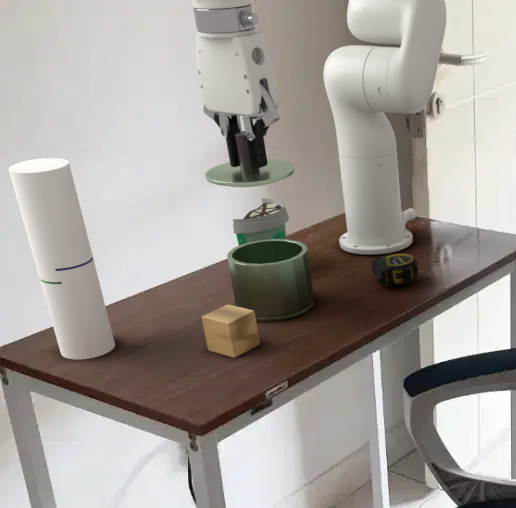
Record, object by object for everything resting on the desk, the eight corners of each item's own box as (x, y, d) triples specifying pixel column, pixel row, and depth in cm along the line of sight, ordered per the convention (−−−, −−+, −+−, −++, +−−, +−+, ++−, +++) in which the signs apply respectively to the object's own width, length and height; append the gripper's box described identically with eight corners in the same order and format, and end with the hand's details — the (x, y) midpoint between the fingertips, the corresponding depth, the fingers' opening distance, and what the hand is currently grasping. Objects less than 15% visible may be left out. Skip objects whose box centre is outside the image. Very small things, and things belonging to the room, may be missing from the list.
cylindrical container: (114, 355, 137) (67, 169, 124) (59, 362, 136) (5, 175, 122) (115, 335, 143) (70, 155, 130) (62, 342, 141) (11, 161, 128)
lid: (249, 162, 147) (242, 119, 144) (313, 172, 142) (307, 127, 138) (188, 184, 139) (178, 138, 135) (253, 195, 133) (246, 148, 130)
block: (233, 337, 141) (227, 304, 139) (260, 344, 139) (254, 310, 136) (207, 350, 138) (201, 316, 135) (234, 357, 135) (228, 323, 133)
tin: (273, 287, 157) (265, 234, 153) (329, 300, 152) (323, 245, 147) (221, 312, 149) (210, 257, 144) (278, 327, 144) (269, 270, 139)
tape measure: (371, 278, 160) (369, 255, 158) (413, 272, 161) (411, 249, 159) (380, 292, 154) (378, 269, 152) (423, 286, 156) (421, 263, 154)
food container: (278, 284, 158) (269, 221, 153) (242, 282, 160) (231, 220, 154) (306, 257, 169) (298, 198, 163) (272, 256, 170) (263, 197, 164)
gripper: (292, 20, 128) (312, 166, 138) (201, 14, 136) (225, 153, 146) (252, 28, 123) (275, 180, 133) (159, 22, 130) (187, 166, 140)
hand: (249, 164), depth 139 cm, fingers closed on lid, 2 cm apart
